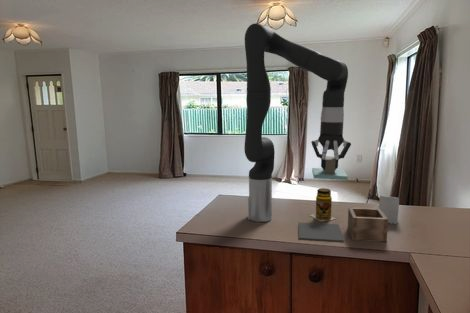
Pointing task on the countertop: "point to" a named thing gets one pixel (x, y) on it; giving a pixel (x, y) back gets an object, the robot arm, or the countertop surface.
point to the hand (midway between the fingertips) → (329, 169)
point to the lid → (329, 171)
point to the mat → (320, 231)
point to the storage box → (367, 224)
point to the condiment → (323, 205)
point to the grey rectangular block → (390, 208)
